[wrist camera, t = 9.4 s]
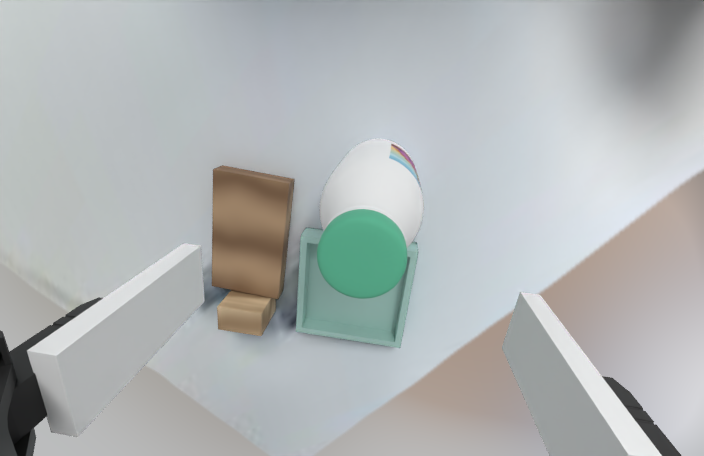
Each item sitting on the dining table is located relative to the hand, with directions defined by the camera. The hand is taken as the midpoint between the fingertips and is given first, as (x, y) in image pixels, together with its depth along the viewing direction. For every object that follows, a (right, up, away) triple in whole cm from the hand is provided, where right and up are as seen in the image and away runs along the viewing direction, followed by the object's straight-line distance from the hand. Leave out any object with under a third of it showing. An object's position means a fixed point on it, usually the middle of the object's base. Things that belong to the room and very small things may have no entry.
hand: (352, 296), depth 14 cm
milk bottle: (+3, +8, +21) cm, 23 cm away
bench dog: (-12, -6, +28) cm, 31 cm away
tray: (0, -4, +26) cm, 26 cm away
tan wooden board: (-11, +3, +26) cm, 28 cm away
